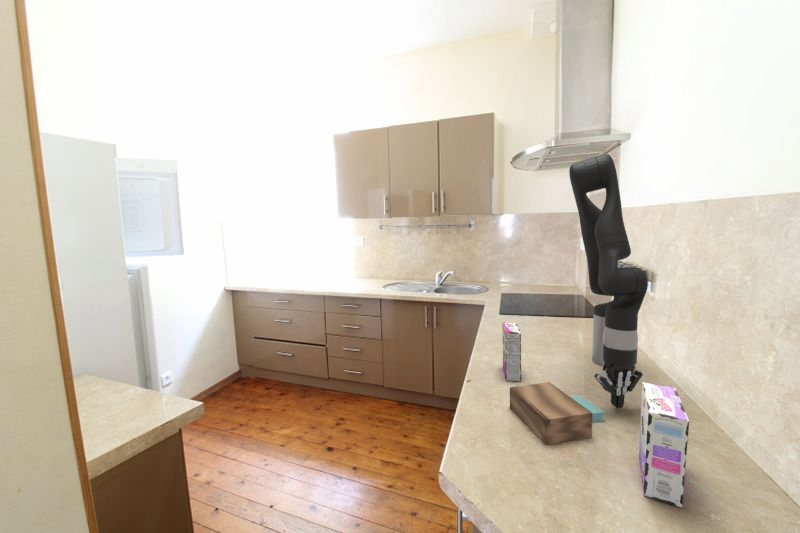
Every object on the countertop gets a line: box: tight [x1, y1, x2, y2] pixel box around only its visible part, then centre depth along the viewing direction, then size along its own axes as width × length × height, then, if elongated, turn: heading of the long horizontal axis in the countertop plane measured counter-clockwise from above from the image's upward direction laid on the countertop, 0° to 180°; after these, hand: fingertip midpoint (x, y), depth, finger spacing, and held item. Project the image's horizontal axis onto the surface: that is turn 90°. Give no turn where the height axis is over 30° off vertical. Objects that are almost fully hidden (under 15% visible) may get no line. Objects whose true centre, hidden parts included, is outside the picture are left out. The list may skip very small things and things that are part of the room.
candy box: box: [638, 381, 690, 508], centre depth 65 cm, size 14×6×16 cm, turn 148°
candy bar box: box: [501, 321, 522, 383], centre depth 112 cm, size 11×5×16 cm, turn 168°
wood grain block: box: [509, 381, 593, 445], centre depth 85 cm, size 12×16×6 cm
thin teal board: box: [569, 394, 604, 424], centre depth 88 cm, size 16×9×3 cm, turn 101°
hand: (617, 406), depth 90 cm, fingers closed
